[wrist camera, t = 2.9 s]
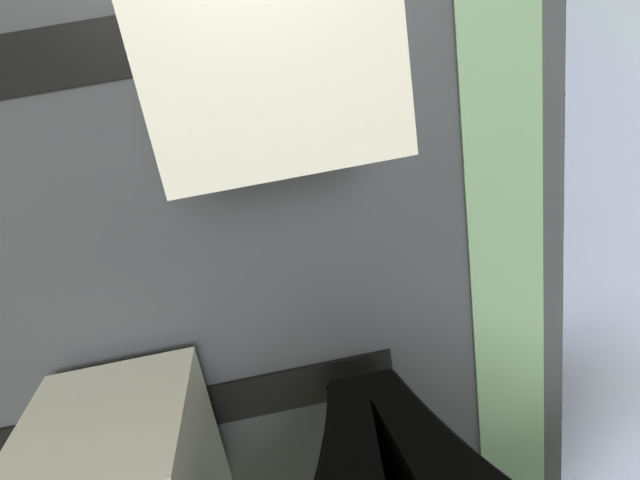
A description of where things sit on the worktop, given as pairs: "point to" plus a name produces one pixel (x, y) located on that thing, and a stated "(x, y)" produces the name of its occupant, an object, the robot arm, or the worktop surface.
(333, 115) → the outer switch
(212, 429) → the middle switch
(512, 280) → the switch panel
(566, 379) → the worktop surface
